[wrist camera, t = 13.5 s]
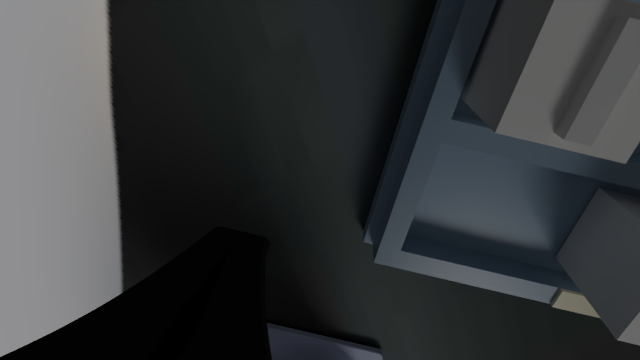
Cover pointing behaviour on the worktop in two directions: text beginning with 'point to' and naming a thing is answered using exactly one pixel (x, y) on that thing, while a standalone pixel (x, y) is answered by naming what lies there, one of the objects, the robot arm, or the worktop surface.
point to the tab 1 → (561, 75)
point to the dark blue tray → (480, 182)
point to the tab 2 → (608, 260)
